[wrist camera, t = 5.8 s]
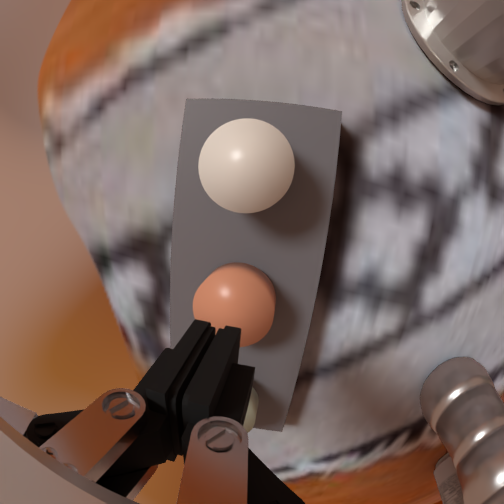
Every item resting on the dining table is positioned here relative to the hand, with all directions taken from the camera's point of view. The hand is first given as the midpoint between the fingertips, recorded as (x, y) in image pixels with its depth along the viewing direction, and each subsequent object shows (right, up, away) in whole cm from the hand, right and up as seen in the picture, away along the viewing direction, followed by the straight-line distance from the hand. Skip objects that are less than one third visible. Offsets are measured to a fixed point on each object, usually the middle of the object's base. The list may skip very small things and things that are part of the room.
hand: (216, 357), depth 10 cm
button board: (+1, +2, +9) cm, 9 cm away
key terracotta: (+1, +1, +7) cm, 7 cm away
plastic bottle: (+18, -7, +9) cm, 22 cm away
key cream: (+1, +8, +5) cm, 10 cm away
